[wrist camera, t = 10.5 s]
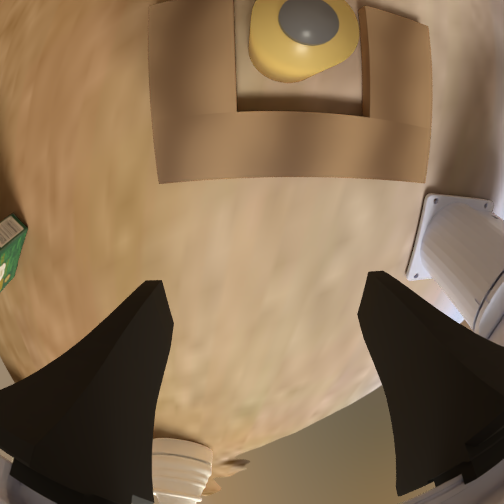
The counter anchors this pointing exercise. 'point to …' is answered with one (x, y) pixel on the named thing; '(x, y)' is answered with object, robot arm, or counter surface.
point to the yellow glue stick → (300, 37)
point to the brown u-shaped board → (284, 122)
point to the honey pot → (179, 470)
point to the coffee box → (10, 247)
